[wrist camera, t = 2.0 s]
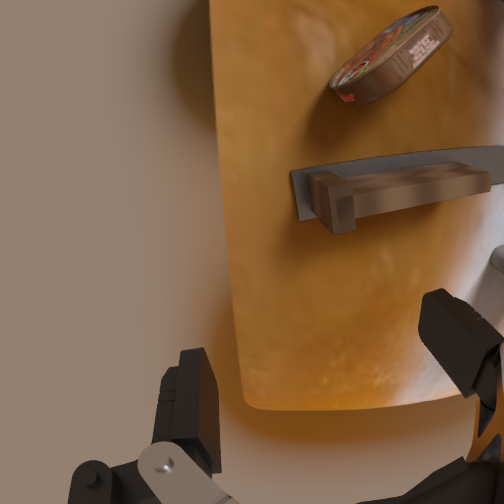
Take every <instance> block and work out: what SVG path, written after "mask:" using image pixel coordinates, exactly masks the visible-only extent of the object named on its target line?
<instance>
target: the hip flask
mask: <svg viewBox="0 0 504 504" xmlns="http://www.w3.org/2000/svg"><path fill="white" fill-rule="evenodd" d="M490 263H491V265H492V266H493V267H495V268H496V269H498V270H499V271H500V272H502V273H503V274H504V245H501V246H499V247H497V248H495V249H494V251H493V252H492V254H491V258H490Z"/></svg>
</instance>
